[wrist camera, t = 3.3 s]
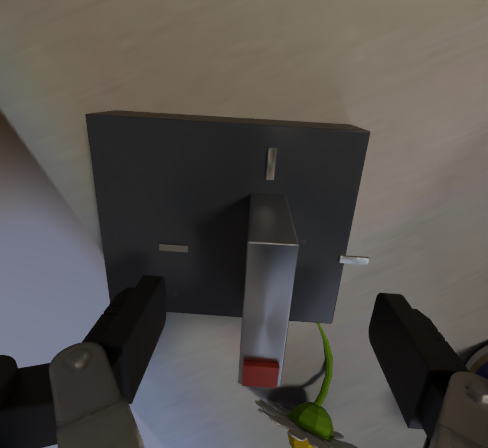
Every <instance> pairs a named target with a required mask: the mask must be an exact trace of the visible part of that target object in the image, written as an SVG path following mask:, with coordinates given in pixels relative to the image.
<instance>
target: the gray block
mask: <svg viewBox="0 0 488 448" xmlns="http://www.w3.org/2000/svg"><path fill="white" fill-rule="evenodd" d="M298 250H299V243H298V240H297V236H296V232H295V228H294V225H293V221H292V217H291V213H290V210H289V206H288V202H287V199H286V196H277V195H262V194H251V198H250V211H249V224H248V237H247V252H246V267H245V283H244V298H243V314H242V329H241V345H240V360H239V376H238V383H241V384H242V385H243V386H255V387H269V388H277V386H280V383H281V376H282V368H283V361H284V353H285V346H286V339H287V331H288V324H289V316H290V309H291V302H292V294H293V287H294V280H295V272H296V265H297V257H298Z"/></svg>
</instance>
